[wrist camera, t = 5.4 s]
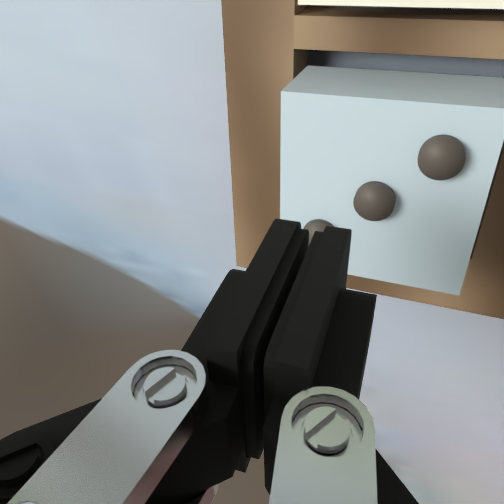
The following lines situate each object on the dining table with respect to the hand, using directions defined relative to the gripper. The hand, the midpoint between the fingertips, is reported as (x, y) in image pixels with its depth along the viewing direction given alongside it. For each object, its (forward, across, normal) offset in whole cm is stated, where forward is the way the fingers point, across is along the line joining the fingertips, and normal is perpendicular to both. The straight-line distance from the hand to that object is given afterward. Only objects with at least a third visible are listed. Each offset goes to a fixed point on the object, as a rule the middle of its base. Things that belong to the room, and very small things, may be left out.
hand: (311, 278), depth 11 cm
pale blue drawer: (+8, -1, 0) cm, 8 cm away
